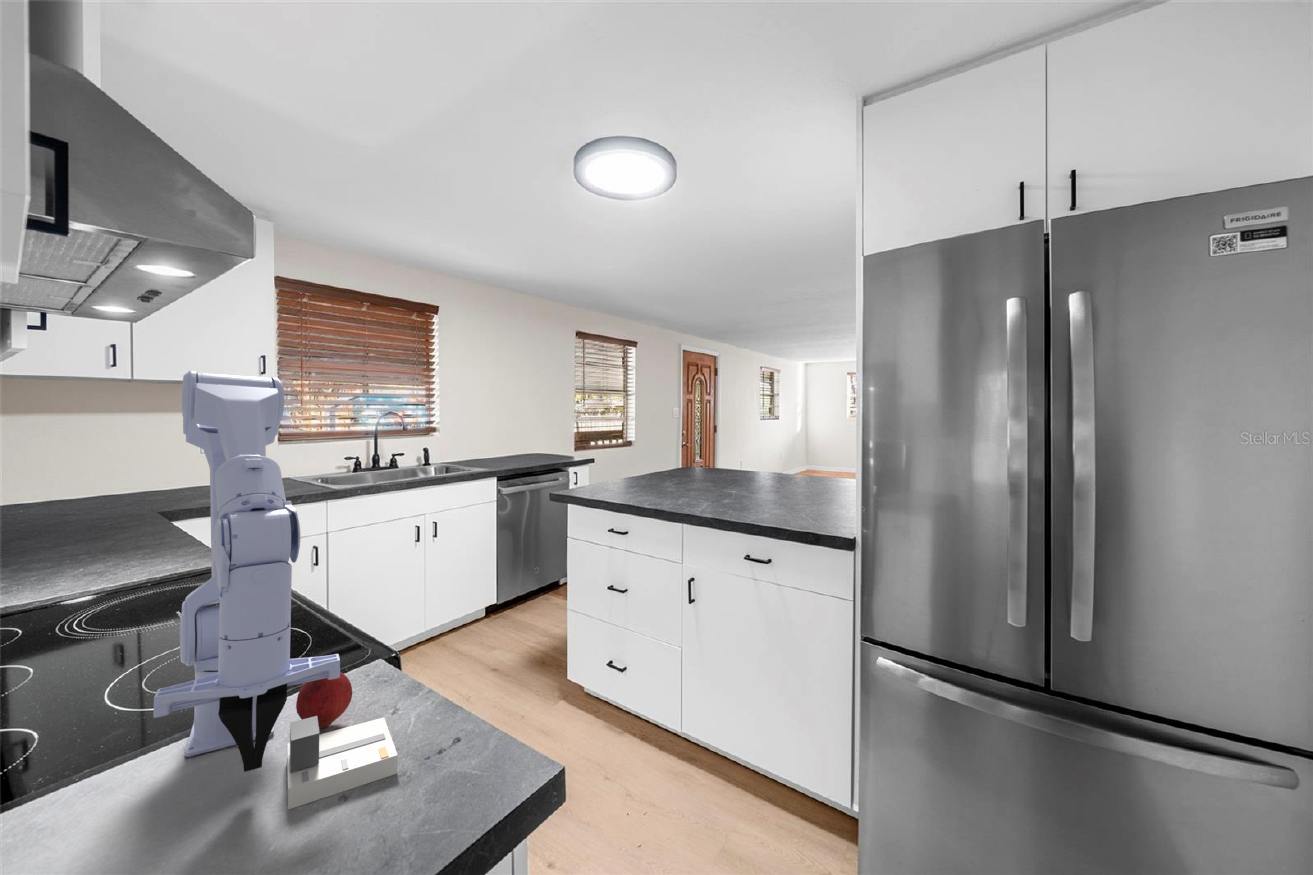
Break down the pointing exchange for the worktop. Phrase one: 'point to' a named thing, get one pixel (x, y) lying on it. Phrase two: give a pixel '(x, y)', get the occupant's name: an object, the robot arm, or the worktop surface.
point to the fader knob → (304, 743)
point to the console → (344, 762)
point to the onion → (324, 699)
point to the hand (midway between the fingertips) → (253, 764)
